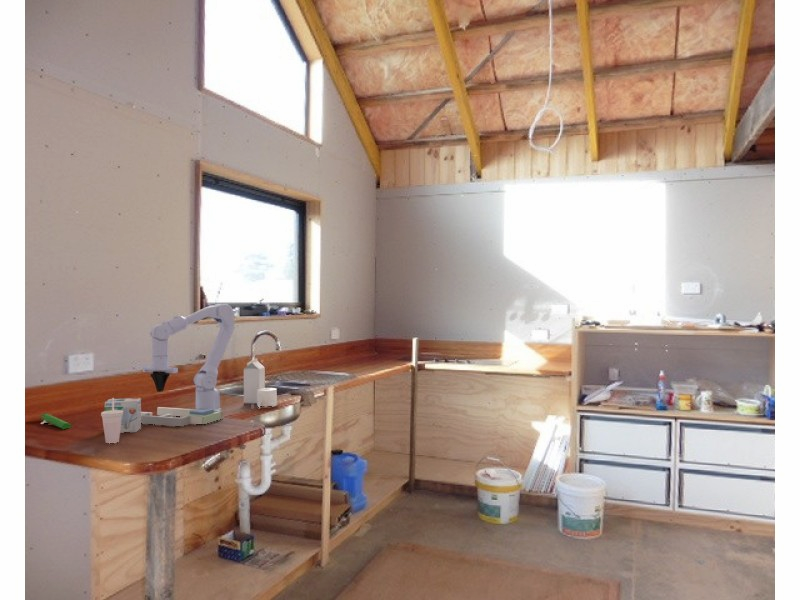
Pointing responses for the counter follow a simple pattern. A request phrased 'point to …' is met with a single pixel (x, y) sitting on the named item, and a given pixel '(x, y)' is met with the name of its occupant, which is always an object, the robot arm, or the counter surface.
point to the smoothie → (112, 424)
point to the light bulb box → (127, 413)
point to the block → (202, 411)
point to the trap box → (173, 421)
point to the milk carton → (253, 380)
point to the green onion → (54, 421)
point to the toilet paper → (267, 397)
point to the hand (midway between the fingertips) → (160, 391)
